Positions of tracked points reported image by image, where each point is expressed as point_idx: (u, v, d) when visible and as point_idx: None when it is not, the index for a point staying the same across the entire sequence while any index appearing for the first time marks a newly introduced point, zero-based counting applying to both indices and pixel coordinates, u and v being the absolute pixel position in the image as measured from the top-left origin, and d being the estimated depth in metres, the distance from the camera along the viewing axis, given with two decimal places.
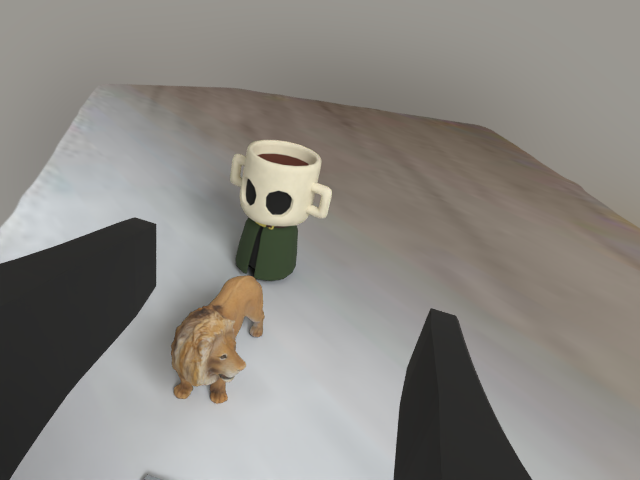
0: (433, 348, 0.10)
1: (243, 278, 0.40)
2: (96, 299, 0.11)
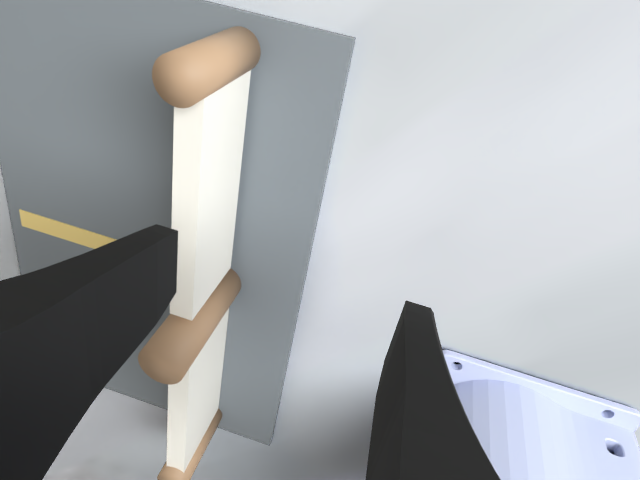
0: (404, 339, 0.10)
1: None
2: (121, 307, 0.11)
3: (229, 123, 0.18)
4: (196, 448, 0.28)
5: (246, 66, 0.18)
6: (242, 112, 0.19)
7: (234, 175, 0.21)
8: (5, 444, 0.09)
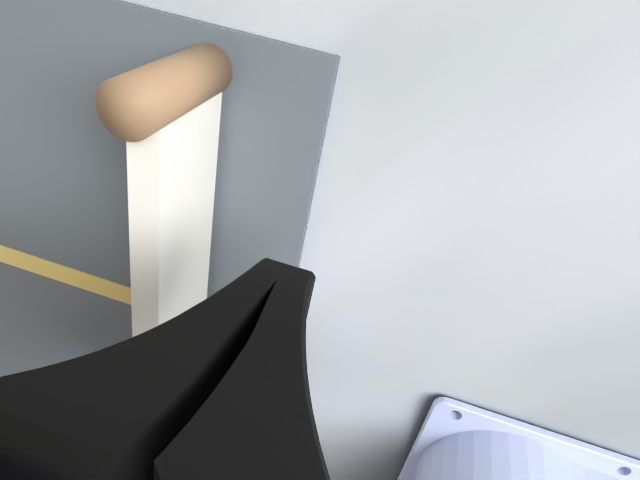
0: (269, 296, 0.11)
1: None
2: None
3: (196, 153, 0.16)
4: None
5: (214, 89, 0.15)
6: (213, 138, 0.17)
7: (206, 207, 0.18)
8: None
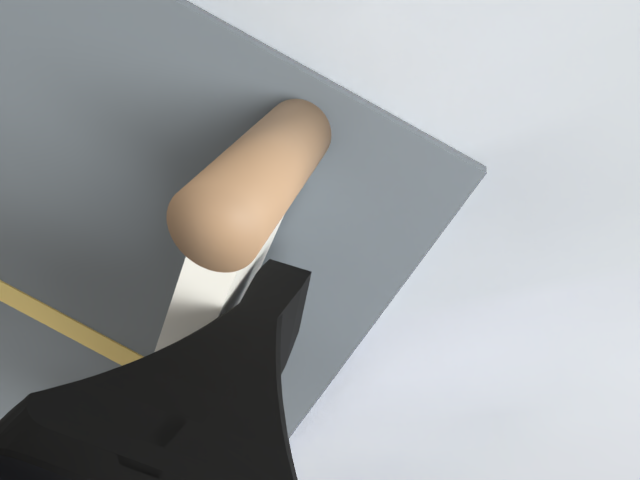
0: (247, 289, 0.11)
1: None
2: None
3: (262, 246, 0.12)
4: None
5: None
6: None
7: None
8: None
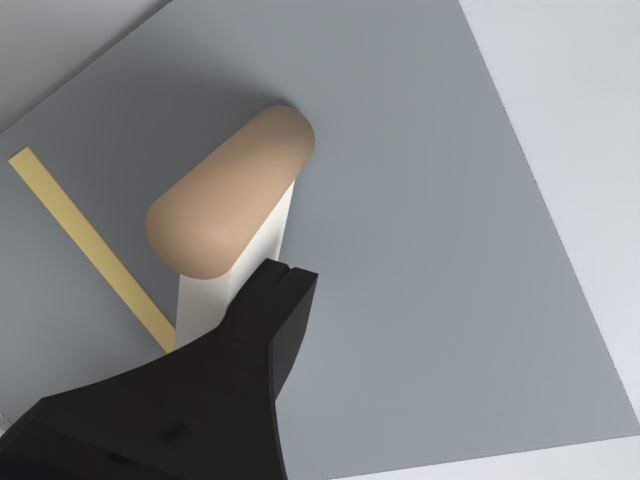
0: None
1: None
2: (279, 359, 0.11)
3: (263, 255, 0.12)
4: None
5: (297, 175, 0.11)
6: (281, 227, 0.13)
7: None
8: None
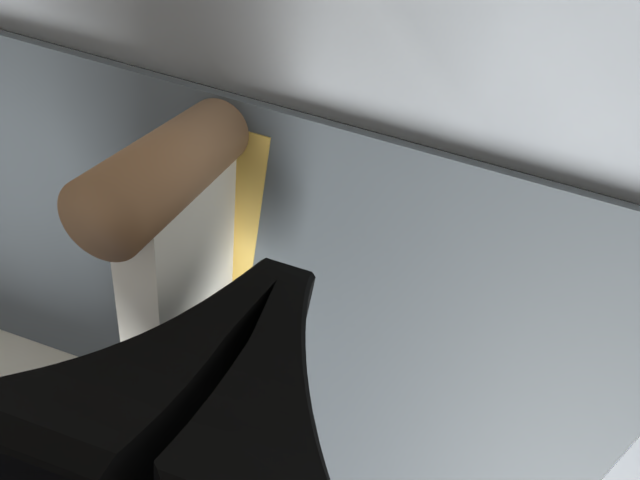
0: (269, 296, 0.11)
1: None
2: None
3: (206, 244, 0.12)
4: None
5: (226, 162, 0.11)
6: (227, 218, 0.13)
7: None
8: None
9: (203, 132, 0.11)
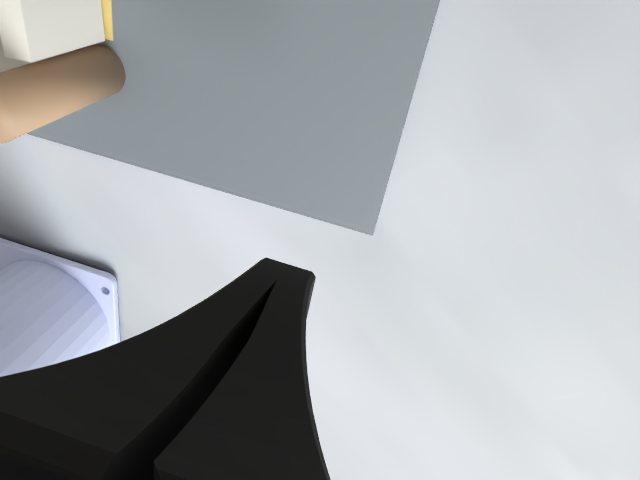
0: (269, 296, 0.11)
1: None
2: None
3: None
4: None
5: None
6: None
7: None
8: None
9: None
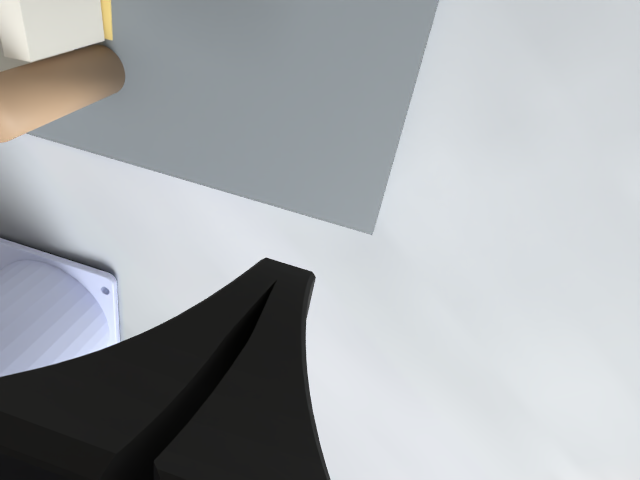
0: (269, 296, 0.11)
1: None
2: None
3: None
4: None
5: None
6: None
7: None
8: None
9: None
